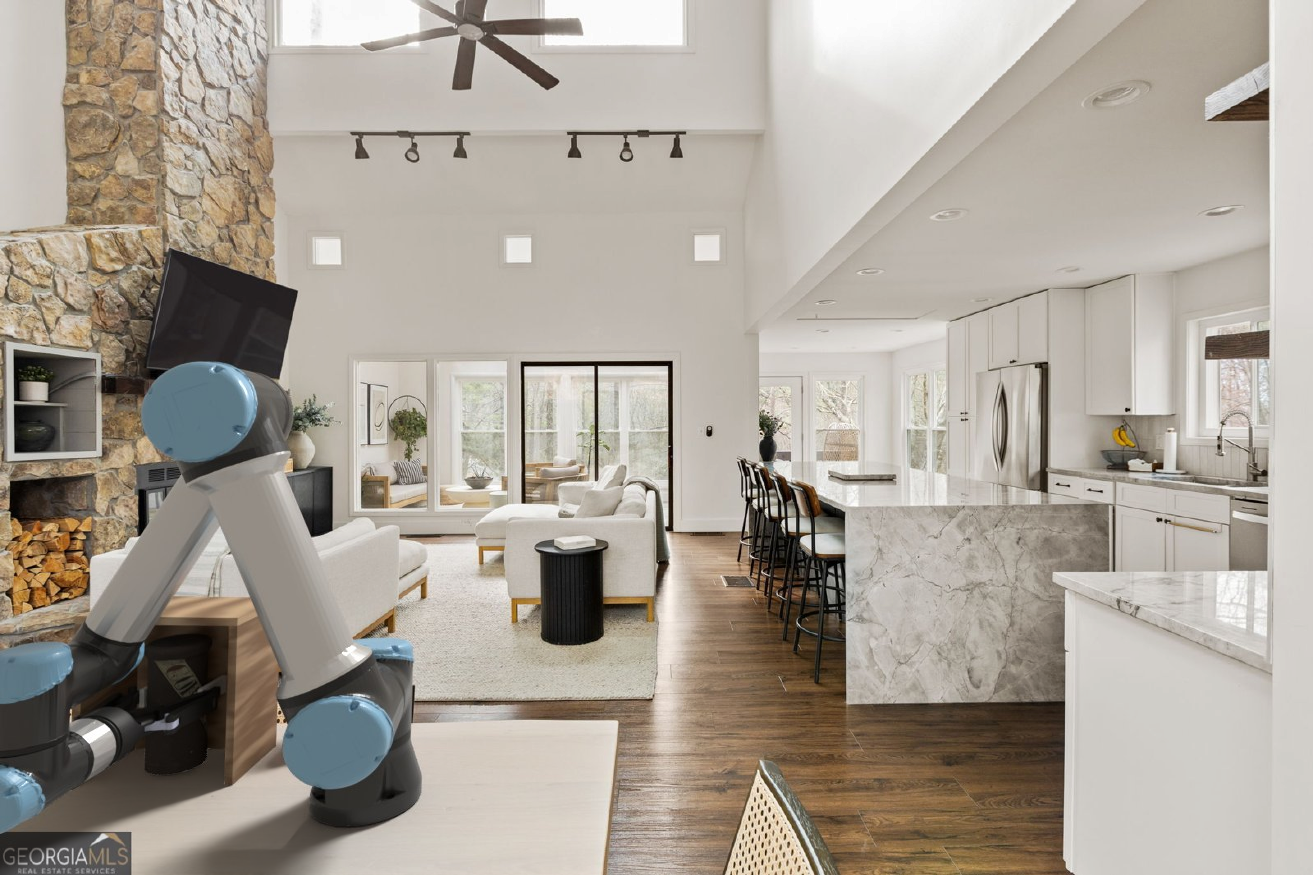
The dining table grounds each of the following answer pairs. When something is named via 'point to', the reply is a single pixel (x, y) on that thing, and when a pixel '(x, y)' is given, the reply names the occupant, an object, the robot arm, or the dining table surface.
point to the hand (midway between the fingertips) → (196, 683)
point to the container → (172, 677)
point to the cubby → (234, 652)
